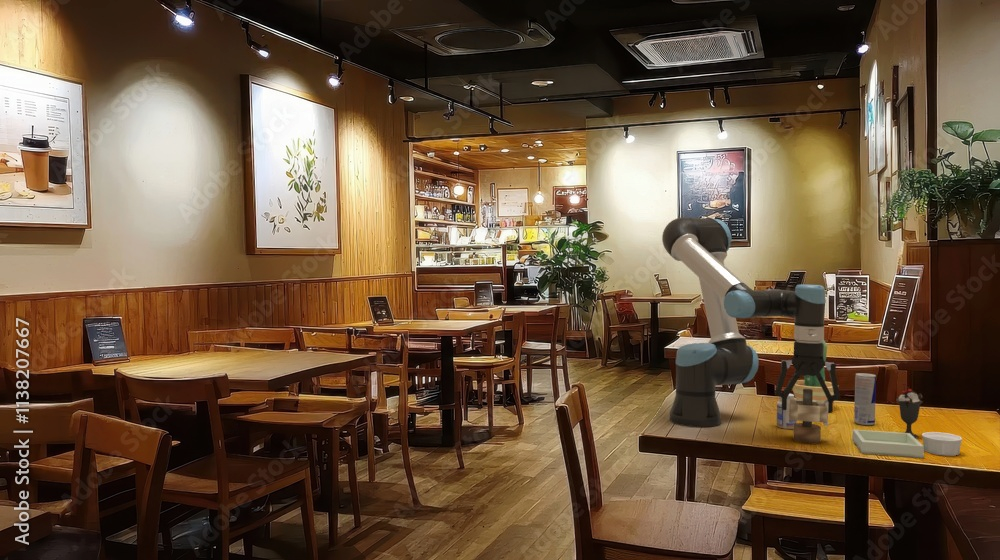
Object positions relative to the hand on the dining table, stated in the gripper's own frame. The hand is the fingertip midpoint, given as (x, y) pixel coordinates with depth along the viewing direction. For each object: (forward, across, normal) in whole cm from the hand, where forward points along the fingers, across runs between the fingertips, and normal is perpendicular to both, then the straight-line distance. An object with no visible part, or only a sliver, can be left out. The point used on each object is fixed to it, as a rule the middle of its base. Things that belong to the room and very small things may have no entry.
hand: (806, 423), depth 200 cm
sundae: (+5, +28, +14) cm, 32 cm away
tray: (+4, +19, -3) cm, 20 cm away
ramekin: (+5, +32, -2) cm, 33 cm away
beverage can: (+5, +19, +27) cm, 33 cm away
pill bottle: (+5, -4, +15) cm, 16 cm away
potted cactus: (+5, +7, +48) cm, 49 cm away
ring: (-2, 0, 0) cm, 2 cm away
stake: (+5, 0, 0) cm, 5 cm away
